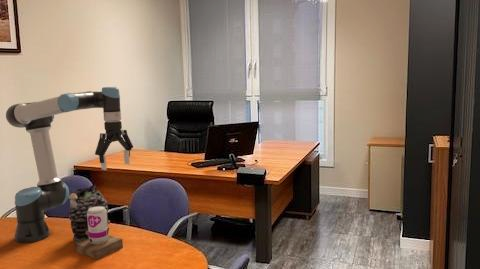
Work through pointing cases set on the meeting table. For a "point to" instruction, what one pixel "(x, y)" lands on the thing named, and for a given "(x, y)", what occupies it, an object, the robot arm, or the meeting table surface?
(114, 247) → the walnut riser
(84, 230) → the decorative house
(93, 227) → the supplement can
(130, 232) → the meeting table surface
